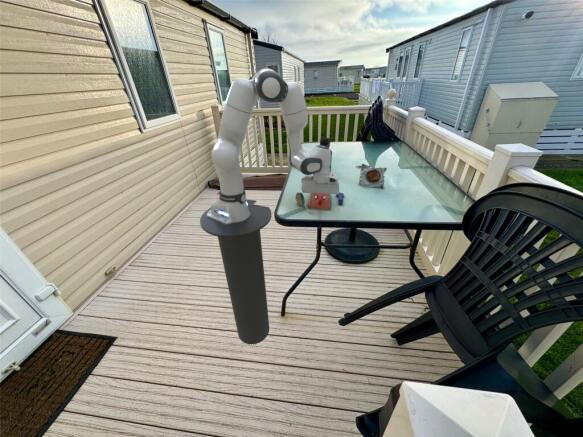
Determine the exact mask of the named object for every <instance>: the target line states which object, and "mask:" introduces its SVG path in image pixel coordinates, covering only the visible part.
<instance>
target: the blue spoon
mask: <svg viewBox="0 0 583 437" xmlns="http://www.w3.org/2000/svg"><path fill="white" fill-rule="evenodd" d="M344 195H345V194H344V193H343V192H340V191H339V194H335V198H336V199H337V198H338V199H337V200H338V206H343V201H344V200H343V199H344V197H345V196H344Z"/></svg>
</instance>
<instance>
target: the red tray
mask: <svg viewBox="0 0 583 437" xmlns="http://www.w3.org/2000/svg"><path fill="white" fill-rule="evenodd" d="M315 196H317V194H316V193H315ZM325 196H326V194H324V197H325ZM308 203H309V204H308V210H325V211H326V210H327V211H330V210H331V194H328V197H327V198H326V201H323V199H322V204H321V206H319V205H318V198H317V200H314V197H313V195H312V193H310V196H309V202H308Z"/></svg>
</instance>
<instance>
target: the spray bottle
mask: <svg viewBox="0 0 583 437" xmlns="http://www.w3.org/2000/svg"><path fill="white" fill-rule="evenodd" d="M319 145H323V146H326V147H328V148H329V149H330V146H331V139H330V138H329V137H321V138H320V140H319ZM330 151H331V162H332V160H333V151H332V149H330ZM330 173H332V163H331V164H330Z"/></svg>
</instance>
